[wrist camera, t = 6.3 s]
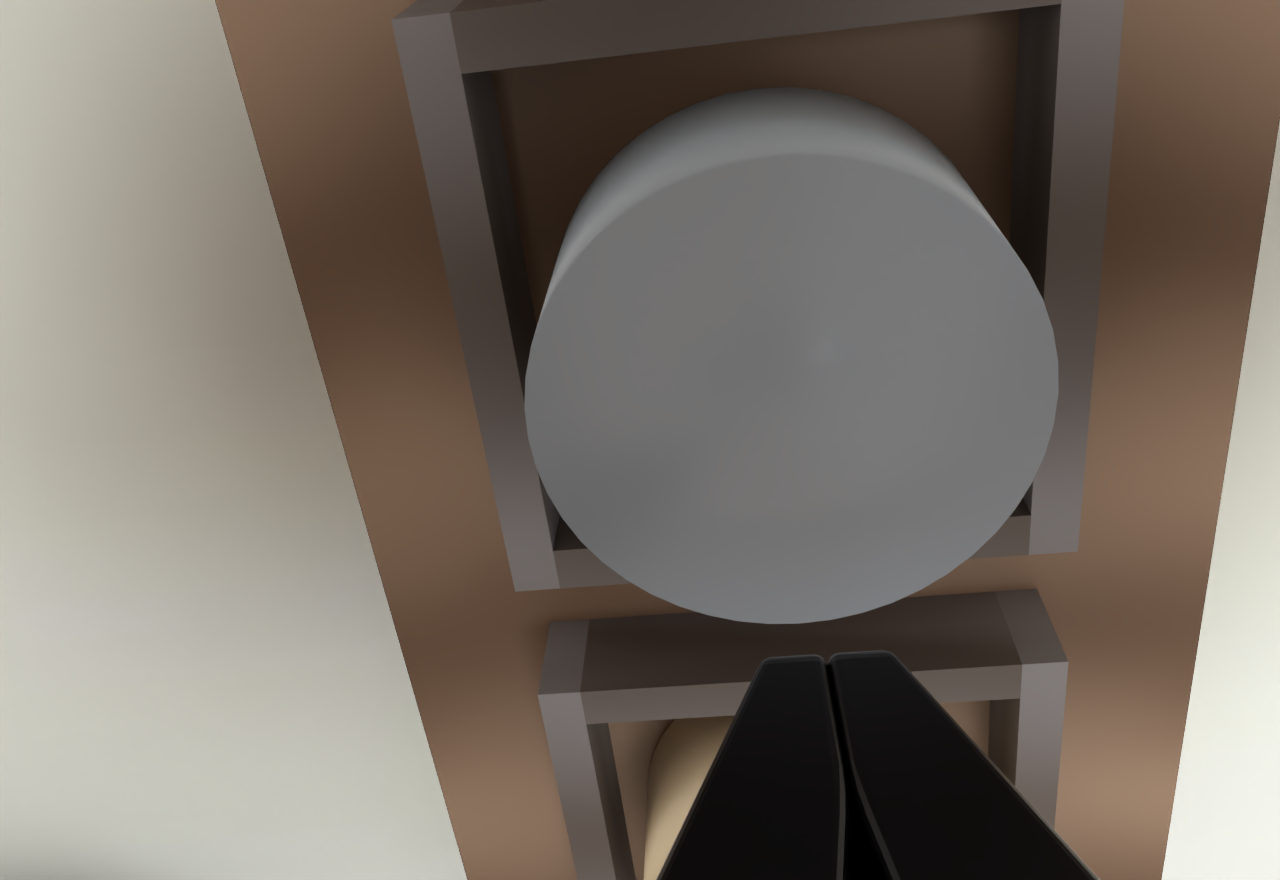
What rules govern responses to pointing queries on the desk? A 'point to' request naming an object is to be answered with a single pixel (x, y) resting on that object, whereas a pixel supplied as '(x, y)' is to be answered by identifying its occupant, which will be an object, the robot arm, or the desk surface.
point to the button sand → (677, 781)
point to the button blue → (787, 362)
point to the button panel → (513, 300)
